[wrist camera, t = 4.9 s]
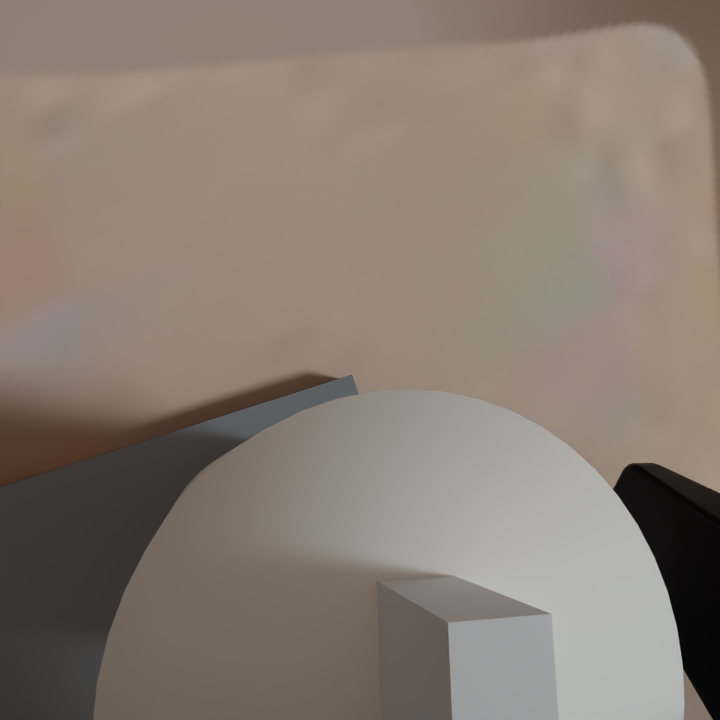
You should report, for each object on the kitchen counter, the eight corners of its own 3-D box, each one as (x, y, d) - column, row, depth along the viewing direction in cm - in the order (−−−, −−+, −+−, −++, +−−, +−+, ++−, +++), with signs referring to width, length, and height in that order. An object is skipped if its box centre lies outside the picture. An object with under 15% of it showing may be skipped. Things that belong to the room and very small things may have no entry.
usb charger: (370, 645, 14) (909, 1171, 4) (159, 664, 13) (11, 1495, 3) (364, 442, 15) (799, 364, 4) (164, 445, 14) (68, 351, 3)
